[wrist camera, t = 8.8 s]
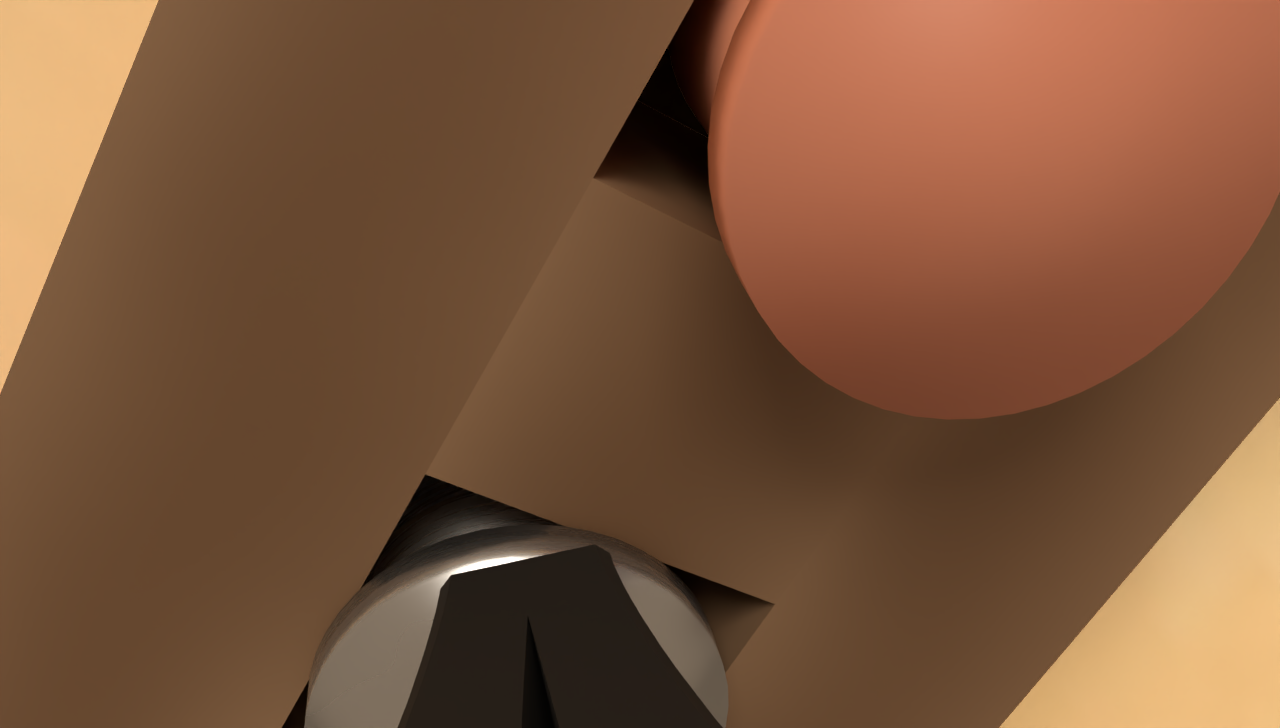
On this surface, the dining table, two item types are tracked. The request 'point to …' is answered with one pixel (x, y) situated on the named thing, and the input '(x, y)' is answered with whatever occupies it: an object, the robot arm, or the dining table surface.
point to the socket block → (518, 387)
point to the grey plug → (464, 541)
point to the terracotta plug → (983, 181)
